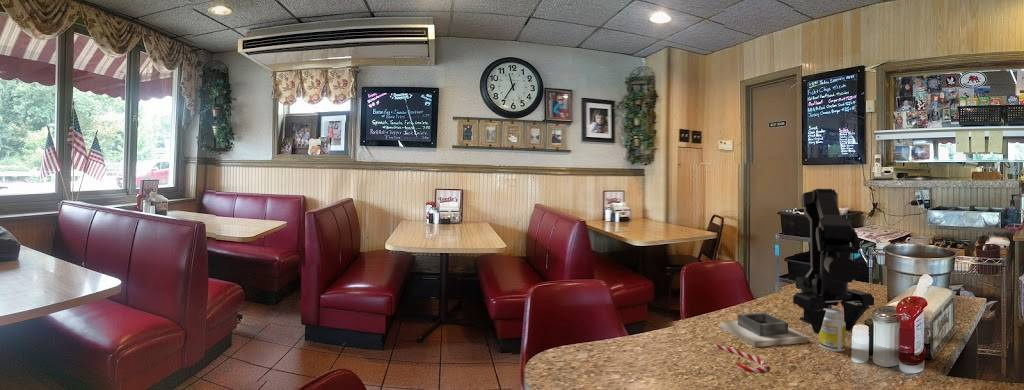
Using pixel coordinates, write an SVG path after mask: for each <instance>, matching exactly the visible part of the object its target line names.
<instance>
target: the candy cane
mask: <svg viewBox="0 0 1024 390" xmlns="http://www.w3.org/2000/svg"><path fill="white" fill-rule="evenodd" d="M712 345H713V346H712V348H714V349H717V350H719V351H720V350H721V351H724V352H728V353H729V354H730V353H731V354H734V355H736V356H737V355H738V356H741V357H743V358H746V359H749V360H752V361H753V362H756V363H757V364H759V365H760V366H761V367H751V366H750V367H749V366H745V365H743V364H740V363H736V364H735V367H737V368H738V369H739V370H742V371H745V372H748V373H755V374H763V373H767V371H768V370H769V365H768V364H767V362H765V361H764V360H763V359H761V358H759V357H758V356H757V357H756V356H754V355H752V354H750V353H746V352H744V351H741V350H737V349H735V348H731V347H728V346H724V345H720V344H716V343H714V344H712Z"/></svg>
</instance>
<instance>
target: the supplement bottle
mask: <svg viewBox="0 0 1024 390" xmlns="http://www.w3.org/2000/svg"><path fill="white" fill-rule="evenodd" d="M823 310H826V313H825V317H824V320H823V324H822V327H821V330H820V333H819V334H818V345H819V347H821V348H823V349H825V350H828V351H831V352H843V351H845V350H846V331H847V330H846V323H845V321H844V319H842V318H843V311H842V310H840V309H836V308H824V309H823Z"/></svg>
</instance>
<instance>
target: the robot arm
mask: <svg viewBox="0 0 1024 390" xmlns="http://www.w3.org/2000/svg"><path fill="white" fill-rule="evenodd" d="M838 194H839V193H837V192H836V189H832V188H815V189H812V190H811V191H807V192H803V193H802V195H801V196H800V197H801V199H800V205H801V207H802V208H803V214H804V215H805V216H806V218H807V220H808V221H809V237H810V238H809V242H810V243H809V244H810V245H809V246H810V251H809V252H810V253H809V254H810V259H809V260H810V269H809V270H808V272H807V273H806V275H804V276H797V277H795V283H794V285H795V287H796V289H797V290H800V291H799V292H797V293H796V292H795V294H793V296H792V304H794V305H796V306H798V307H799V308H801V309H803V316H802V317H799V320H801V321H804V322H806V323H809V324H810V325H811V327H812V330H813V332H814V333H815V334H816V335H819V333H820V330H821V327H822V324H823V320H824V317H825V313H826V310H823V309H824V308H832V306H834V307H837V306H838V305H839V303H840V305H841V307H842V308H843V320H844V321H845V323H846V331H848V332H851V330H852V329H853V327H854V326H855V325H856V324H857V322H858V321H859V319H860V318H861V317H862V316H863V314H865V312H866V311H867V310H870V307H873V306H875V298H874V296H873V294H872V293H869V292H865V291H862V290H859V289H855V288H851V289H849V288H848V287H849V283H853V280H856V278H857V277H858V276H859V274H860V268H859V265H858V264H857V262H856V261H855V260H854V259H852V258H851V254H857V255H858V254H859V251H860V249H861V244H860V239H859V236H858V235H859V234H858V233H857V232H856V229H855V228H853V226H852V224H851V222H850V220H848V219H847V218H844V217H842V215H841V212H840V209H839V207H838V206H839V196H838ZM832 309H833V308H832Z"/></svg>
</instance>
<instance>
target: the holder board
mask: <svg viewBox="0 0 1024 390" xmlns="http://www.w3.org/2000/svg"><path fill="white" fill-rule="evenodd" d="M719 328H721V330H724V331H725V332H727V333H729V334H731V335H732V336H734V337H736V338H738V339H740V340H741V341H743V342H745V343H747V344H749V345H750V346H752V347H754V348H759V347H770V346H780V345H782V346H784V345H792V344H802V343H803V344H804V343H809V336H808V335H805V334H803V333H801V332H798V331H796V330H794V329H792V328H789V322H787V321H784V320H782V319H779V318H777V317H775V316H773V315H771V314H768V313H766V312H755V313H741V314H737V320H735V321H734V320H733V321H721V322H719Z"/></svg>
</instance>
